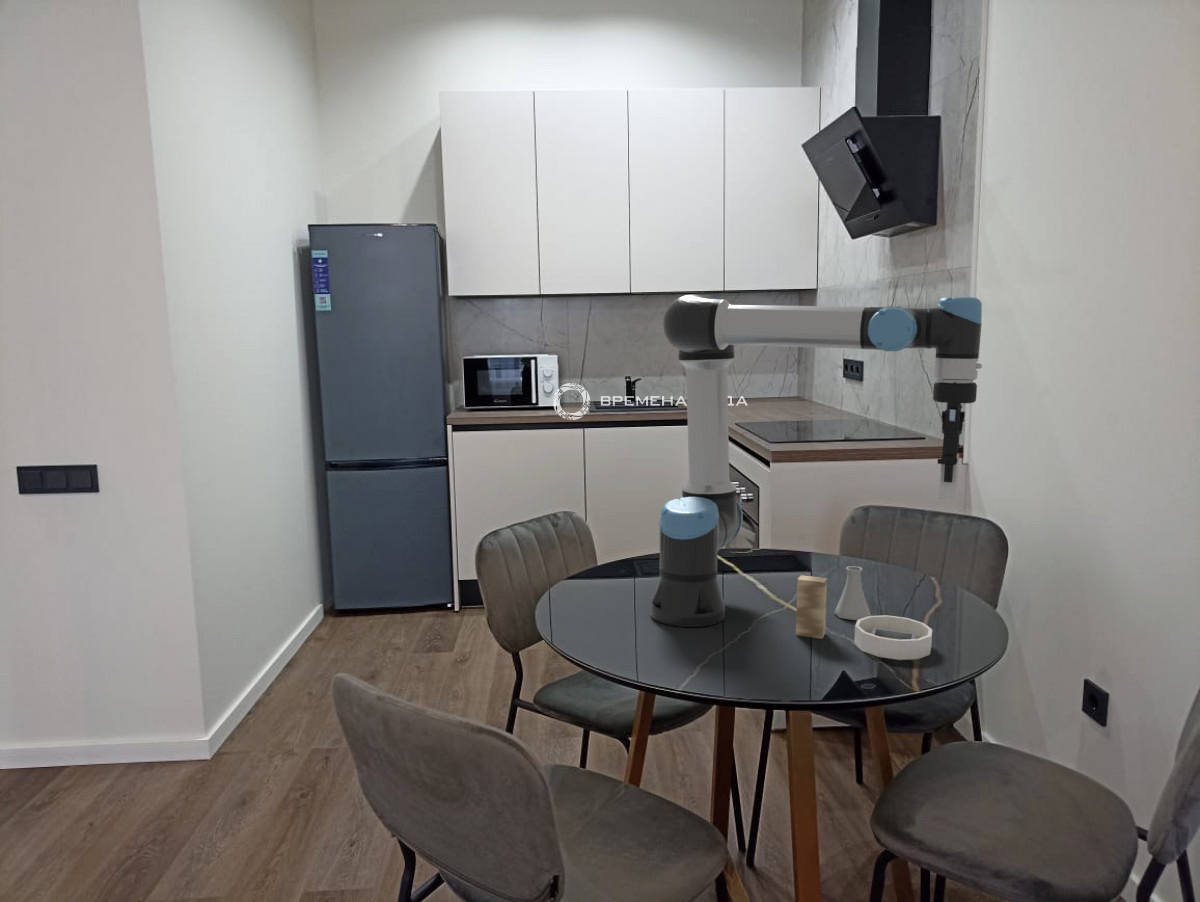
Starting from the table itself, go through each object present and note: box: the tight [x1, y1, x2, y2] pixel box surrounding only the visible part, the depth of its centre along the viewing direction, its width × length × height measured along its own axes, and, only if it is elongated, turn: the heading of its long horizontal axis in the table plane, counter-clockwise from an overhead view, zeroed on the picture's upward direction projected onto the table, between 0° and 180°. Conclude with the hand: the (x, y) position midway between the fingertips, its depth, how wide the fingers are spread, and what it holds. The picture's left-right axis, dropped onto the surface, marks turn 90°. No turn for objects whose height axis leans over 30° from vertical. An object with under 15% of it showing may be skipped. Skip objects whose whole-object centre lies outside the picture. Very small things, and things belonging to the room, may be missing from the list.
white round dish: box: [853, 614, 933, 661], centre depth 160 cm, size 13×13×4 cm
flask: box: [834, 565, 872, 621], centre depth 176 cm, size 7×7×10 cm
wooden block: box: [795, 574, 828, 640], centre depth 165 cm, size 5×3×11 cm, turn 66°
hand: (948, 492), depth 165 cm, fingers open, 13 cm apart
